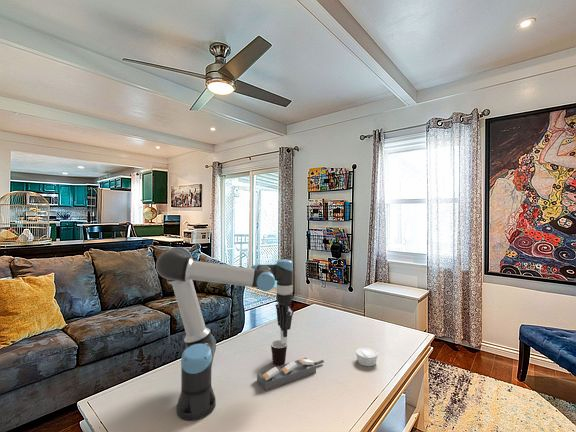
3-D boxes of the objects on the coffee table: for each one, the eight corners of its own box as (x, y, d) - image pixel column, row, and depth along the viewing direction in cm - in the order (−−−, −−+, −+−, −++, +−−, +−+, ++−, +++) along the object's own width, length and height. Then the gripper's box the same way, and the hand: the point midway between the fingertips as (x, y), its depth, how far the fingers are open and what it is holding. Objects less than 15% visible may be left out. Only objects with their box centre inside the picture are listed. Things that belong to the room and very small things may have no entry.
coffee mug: (285, 368, 145) (285, 348, 145) (268, 366, 147) (268, 347, 147) (289, 356, 157) (289, 338, 156) (274, 354, 158) (274, 337, 158)
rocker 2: (285, 374, 133) (284, 372, 133) (281, 371, 136) (281, 368, 136) (297, 365, 137) (296, 363, 137) (293, 362, 140) (293, 360, 139)
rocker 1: (266, 380, 128) (265, 378, 128) (263, 377, 131) (262, 374, 131) (279, 372, 132) (278, 369, 131) (275, 368, 134) (275, 366, 134)
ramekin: (351, 362, 152) (352, 352, 152) (362, 354, 160) (362, 345, 160) (371, 370, 144) (371, 360, 144) (381, 361, 153) (381, 352, 152)
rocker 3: (302, 364, 138) (303, 361, 139) (298, 361, 141) (299, 358, 141) (313, 364, 142) (314, 362, 142) (309, 361, 145) (310, 359, 145)
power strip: (265, 390, 127) (265, 381, 127) (256, 380, 135) (257, 371, 134) (328, 368, 146) (328, 359, 146) (317, 360, 153) (317, 352, 153)
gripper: (298, 295, 130) (297, 346, 131) (284, 288, 141) (283, 335, 142) (284, 297, 126) (283, 350, 127) (270, 290, 137) (270, 338, 138)
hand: (283, 342), depth 134 cm, fingers closed
